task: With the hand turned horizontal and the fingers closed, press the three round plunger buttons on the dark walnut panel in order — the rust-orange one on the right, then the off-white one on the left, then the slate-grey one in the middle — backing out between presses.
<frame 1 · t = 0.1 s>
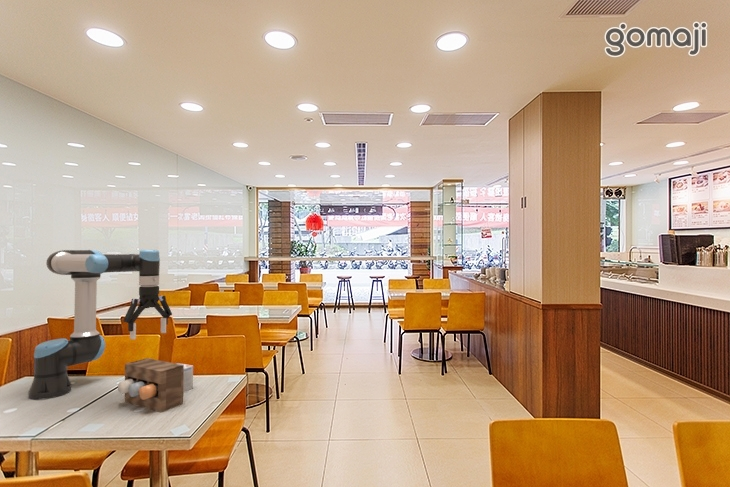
hand: (148, 335, 164), 28 cm above the table, tool pointing down, fingers open, 13 cm apart
orange button: (153, 390, 155), point 8 cm above the table, slide at 0.0 cm
grey button: (142, 387, 159), point 8 cm above the table, slide at 0.0 cm
white button: (131, 384, 162), point 8 cm above the table, slide at 0.0 cm
light bulb box: (179, 389, 179), on the table
panel: (144, 406, 159), on the table
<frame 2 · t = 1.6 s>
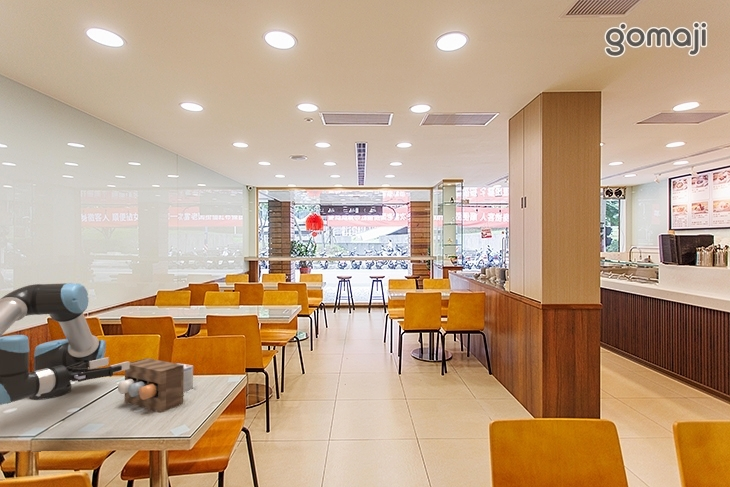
hand: (118, 362, 144), 22 cm above the table, tool horizontal, fingers open, 12 cm apart
nothing on the table moved.
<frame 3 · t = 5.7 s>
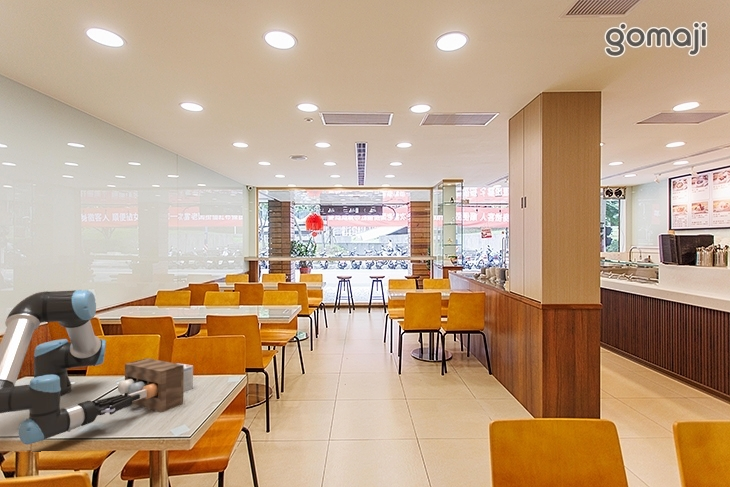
hand: (145, 393, 152), 8 cm above the table, tool horizontal, fingers closed
orange button: (155, 389, 156), point 8 cm above the table, slide at 1.2 cm, touching gripper
everything else where it was.
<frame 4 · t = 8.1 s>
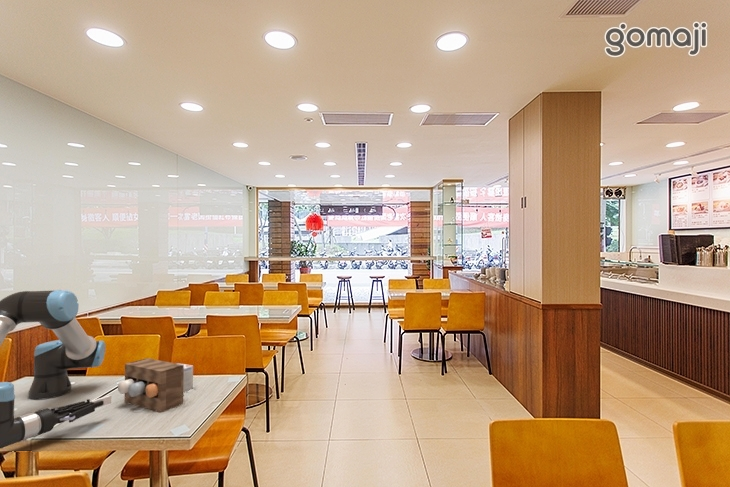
hand: (110, 399, 148), 7 cm above the table, tool horizontal, fingers closed
orange button: (159, 388, 158), point 8 cm above the table, slide at 2.6 cm
everything else where it was.
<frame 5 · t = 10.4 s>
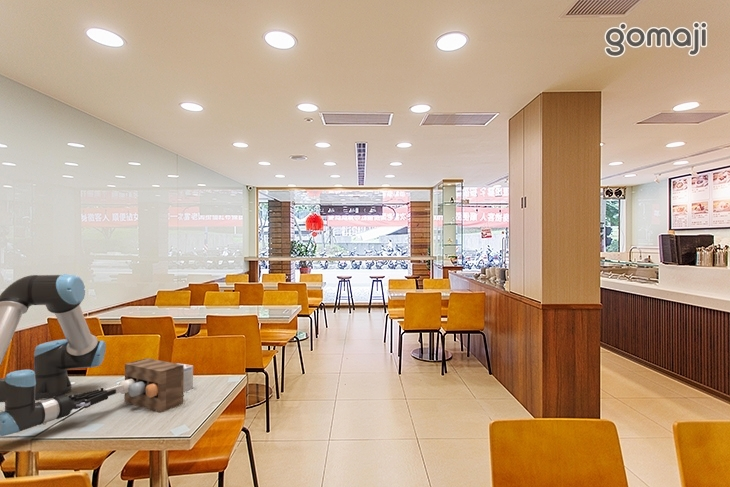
hand: (121, 388, 158), 8 cm above the table, tool horizontal, fingers closed
white button: (132, 384, 162), point 8 cm above the table, slide at 0.3 cm, touching gripper
everything else where it was.
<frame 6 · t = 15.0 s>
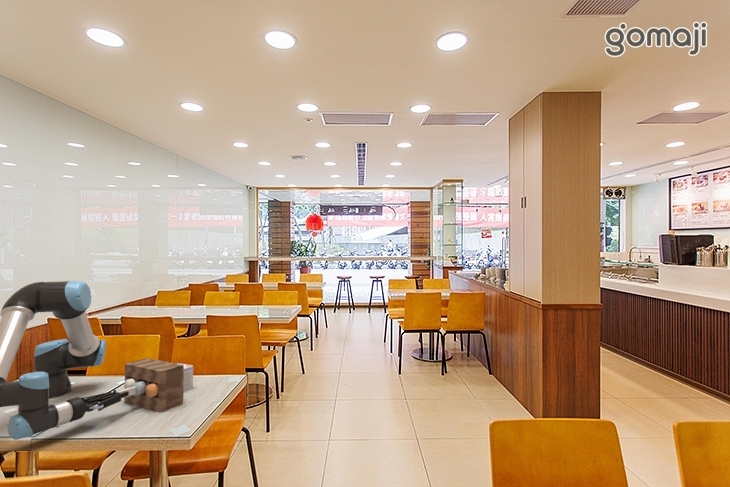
hand: (134, 390, 156), 8 cm above the table, tool horizontal, fingers closed
grey button: (144, 386, 160), point 8 cm above the table, slide at 1.1 cm, touching gripper
white button: (137, 382, 164), point 8 cm above the table, slide at 2.6 cm
everything else where it was.
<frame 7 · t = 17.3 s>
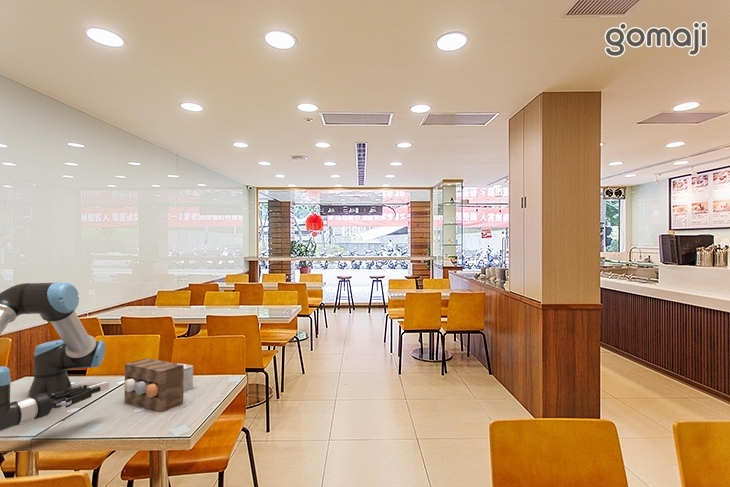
hand: (107, 385, 148), 12 cm above the table, tool horizontal, fingers closed
grey button: (148, 385, 161), point 8 cm above the table, slide at 2.6 cm
everything else where it was.
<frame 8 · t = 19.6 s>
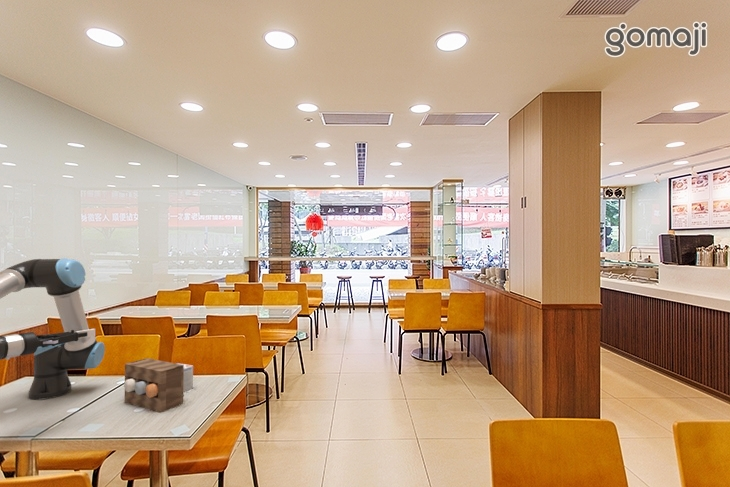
hand: (94, 332, 152), 32 cm above the table, tool horizontal, fingers closed
nothing on the table moved.
at the end: orange button slide at 2.6 cm; white button slide at 2.6 cm; grey button slide at 2.6 cm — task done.
